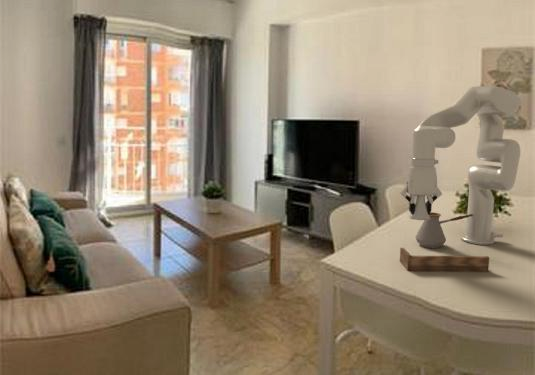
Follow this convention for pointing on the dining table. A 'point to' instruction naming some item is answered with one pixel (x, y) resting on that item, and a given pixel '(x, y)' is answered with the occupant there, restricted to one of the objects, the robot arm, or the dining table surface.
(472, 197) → the robot arm
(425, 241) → the coffee pot
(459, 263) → the wooden block
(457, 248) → the dining table surface
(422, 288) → the dining table surface
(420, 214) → the flask
